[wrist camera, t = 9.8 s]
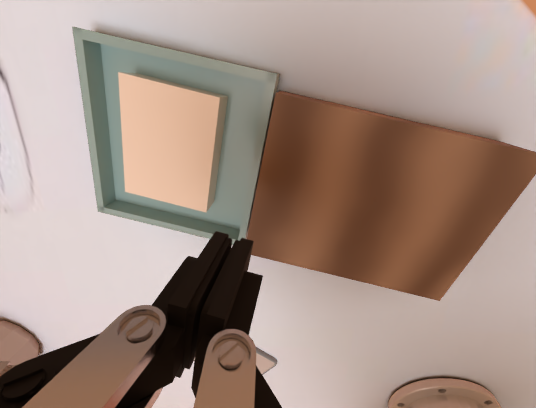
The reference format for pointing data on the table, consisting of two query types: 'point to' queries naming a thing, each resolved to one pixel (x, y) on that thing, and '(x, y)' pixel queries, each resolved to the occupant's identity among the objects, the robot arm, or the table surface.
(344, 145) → the brown wooden block
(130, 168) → the tile
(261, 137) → the tray
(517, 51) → the table surface
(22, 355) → the jar
